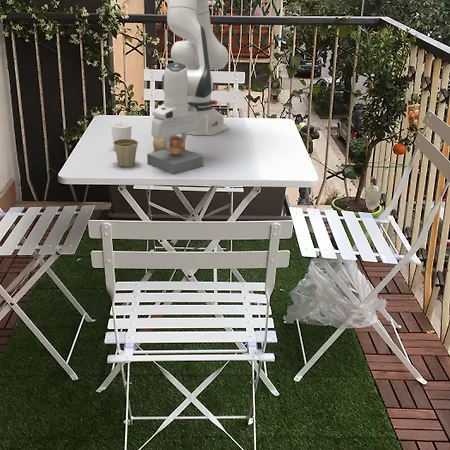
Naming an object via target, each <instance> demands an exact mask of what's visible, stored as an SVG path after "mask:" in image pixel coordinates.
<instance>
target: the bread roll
mask: <svg viewBox="0 0 450 450" xmlns="http://www.w3.org/2000/svg"><path fill="white" fill-rule="evenodd" d="M170 137H173V136H170ZM152 146H153V149H154V152H156V151H160V150H164V149H166V142H165V140H164V138H162V139H157V138H154V137H153V140H152Z"/></svg>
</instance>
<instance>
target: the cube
mask: <svg viewBox="0 0 450 450" xmlns="http://www.w3.org/2000/svg"><path fill="white" fill-rule="evenodd" d="M169 141H170V143H172V147H171V148H167V147H166V151H168V152H170V153H173V154H178V153H181V152H185V149H186V139H184V138H181V136H178V135H175V136H173V137H170V139H169Z"/></svg>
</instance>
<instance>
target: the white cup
mask: <svg viewBox="0 0 450 450" xmlns="http://www.w3.org/2000/svg"><path fill="white" fill-rule="evenodd" d="M111 137H112V143H113V142H114V141H115V140H118V139H132V124H131V123H129V122H125V121H123V122H122V121H121V122H120V121H118V122H113V123H112V124H111ZM113 149H114V151H116V149H115V147H114V146H113Z"/></svg>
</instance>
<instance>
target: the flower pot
mask: <svg viewBox="0 0 450 450" xmlns="http://www.w3.org/2000/svg"><path fill="white" fill-rule="evenodd" d="M138 144H139V141H138V140H136V139H133V138H131V139H118V140H115V141H114V142H113V141H112V145H113V148H114V147H115V149H116V150H115V152H116V153H115V154H116V159H117V165H118V166H120V167H126V168H127V167H128V168H129V167H133V166H134V165H135V163H136V155H137V148H138Z"/></svg>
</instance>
